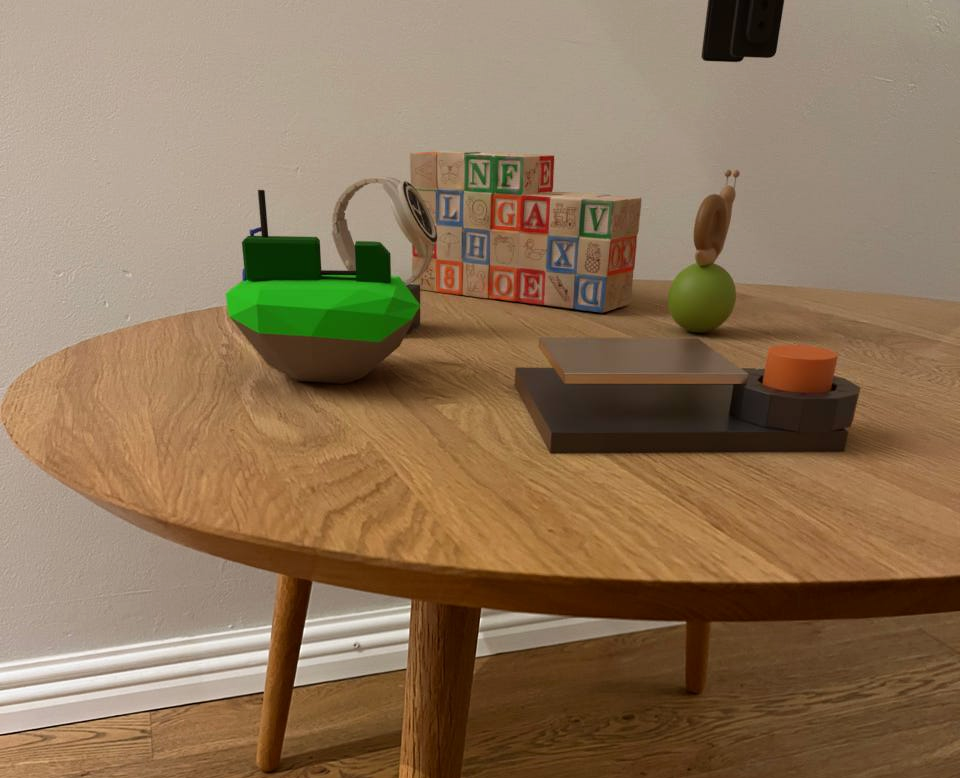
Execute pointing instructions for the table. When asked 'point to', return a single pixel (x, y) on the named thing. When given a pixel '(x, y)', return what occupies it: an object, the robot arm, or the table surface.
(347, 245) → the watch
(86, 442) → the table surface
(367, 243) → the floating island model
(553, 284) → the stack of blocks
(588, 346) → the scale pan
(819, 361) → the tare button
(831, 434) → the scale
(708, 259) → the snail figurine
